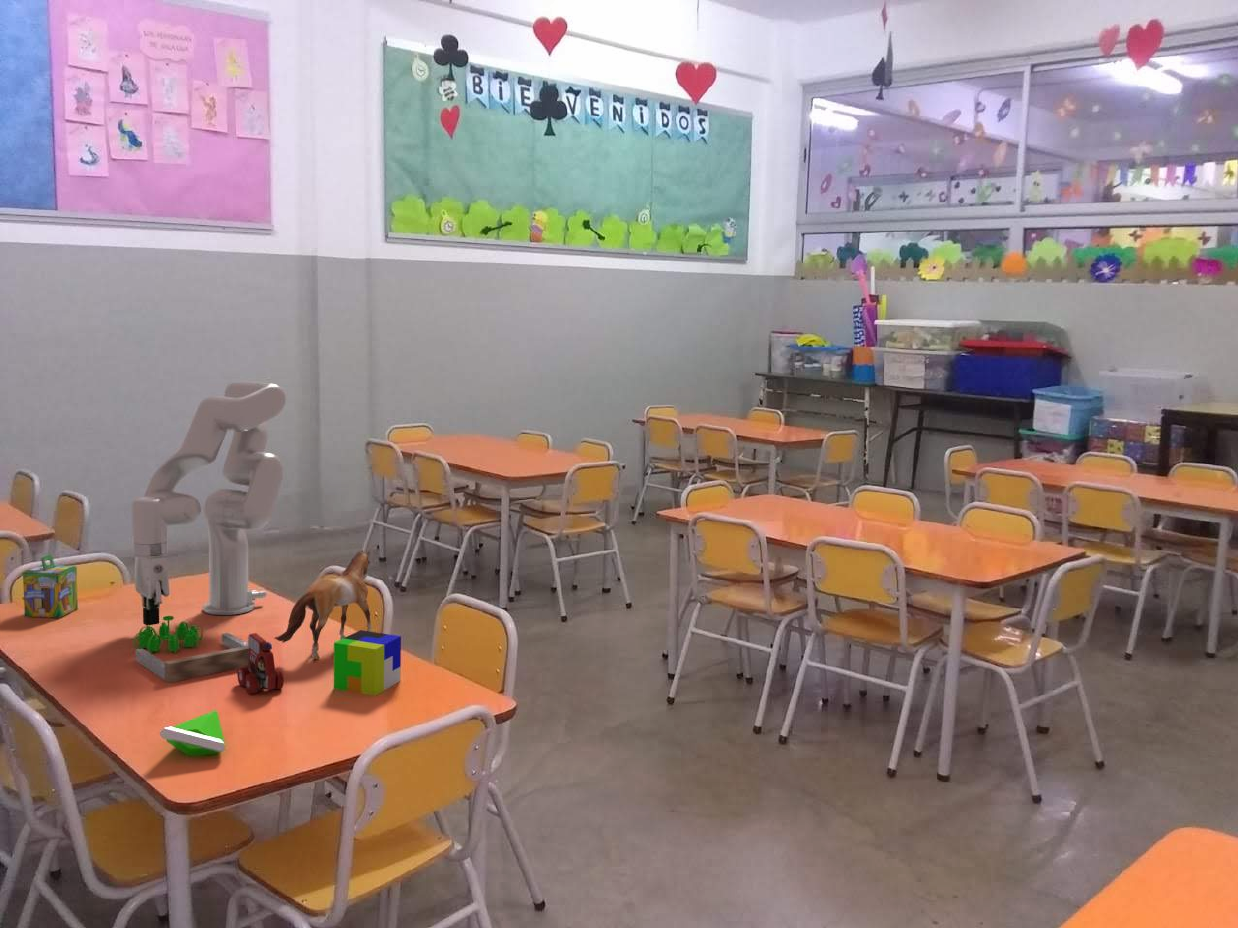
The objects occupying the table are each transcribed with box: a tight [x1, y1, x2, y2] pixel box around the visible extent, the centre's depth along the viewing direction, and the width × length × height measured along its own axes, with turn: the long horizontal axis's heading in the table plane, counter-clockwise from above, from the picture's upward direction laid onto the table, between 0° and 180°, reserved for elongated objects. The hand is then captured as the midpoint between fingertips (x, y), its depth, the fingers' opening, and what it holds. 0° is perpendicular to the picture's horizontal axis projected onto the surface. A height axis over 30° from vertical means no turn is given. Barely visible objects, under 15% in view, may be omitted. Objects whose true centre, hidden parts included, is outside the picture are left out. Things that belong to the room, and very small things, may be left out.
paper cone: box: [159, 710, 226, 757], centre depth 194 cm, size 11×5×25 cm
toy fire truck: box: [236, 632, 285, 695], centre depth 218 cm, size 7×12×10 cm, turn 37°
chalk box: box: [22, 553, 79, 619], centre depth 263 cm, size 9×9×15 cm
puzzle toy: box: [333, 629, 402, 697], centre depth 222 cm, size 10×10×10 cm
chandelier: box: [132, 615, 204, 654], centre depth 243 cm, size 15×15×7 cm
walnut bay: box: [135, 632, 249, 683], centre depth 232 cm, size 21×18×4 cm
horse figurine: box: [273, 550, 372, 660], centre depth 245 cm, size 31×8×21 cm, turn 155°
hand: (151, 623), depth 252 cm, fingers closed
